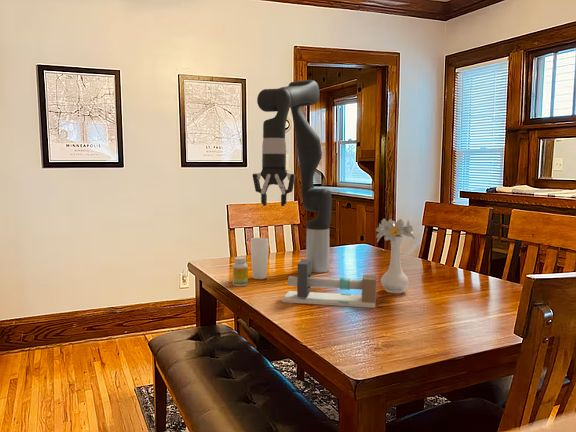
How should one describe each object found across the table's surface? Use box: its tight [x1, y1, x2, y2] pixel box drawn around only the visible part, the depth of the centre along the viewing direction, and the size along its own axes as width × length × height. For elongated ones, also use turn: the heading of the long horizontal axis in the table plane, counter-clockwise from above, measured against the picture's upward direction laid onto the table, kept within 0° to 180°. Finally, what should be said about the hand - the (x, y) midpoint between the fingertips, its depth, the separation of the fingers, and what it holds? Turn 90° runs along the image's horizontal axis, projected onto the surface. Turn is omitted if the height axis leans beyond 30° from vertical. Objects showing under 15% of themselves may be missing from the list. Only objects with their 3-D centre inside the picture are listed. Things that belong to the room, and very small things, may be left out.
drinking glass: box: [249, 237, 270, 280], centre depth 187 cm, size 7×7×15 cm
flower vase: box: [375, 218, 417, 294], centre depth 168 cm, size 13×18×25 cm
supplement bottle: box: [232, 256, 249, 287], centre depth 177 cm, size 5×5×10 cm
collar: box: [296, 258, 312, 297], centre depth 158 cm, size 3×8×10 cm, turn 169°
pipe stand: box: [281, 274, 377, 309], centre depth 157 cm, size 28×11×8 cm, turn 79°
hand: (273, 205), depth 160 cm, fingers open, 5 cm apart
